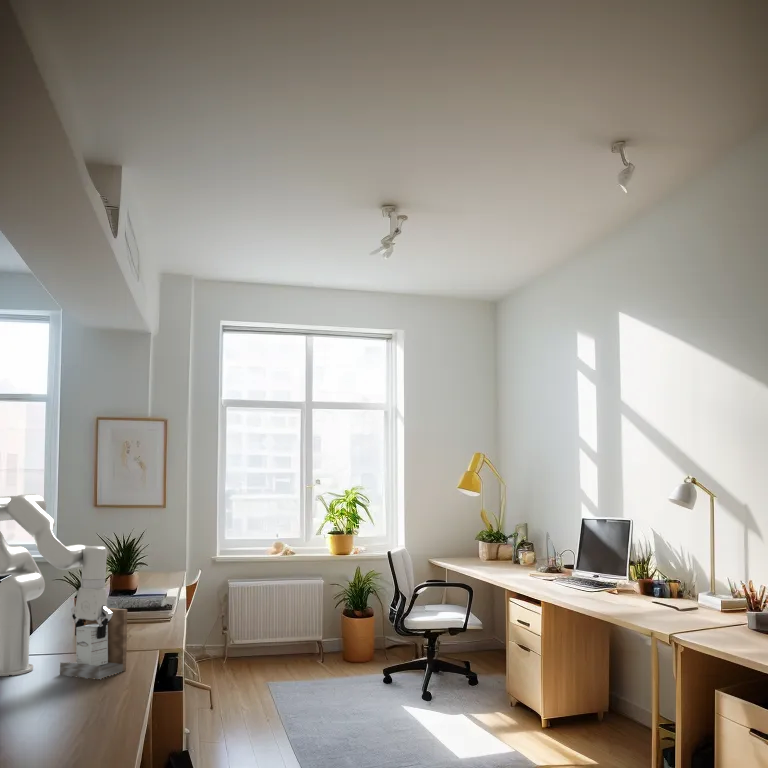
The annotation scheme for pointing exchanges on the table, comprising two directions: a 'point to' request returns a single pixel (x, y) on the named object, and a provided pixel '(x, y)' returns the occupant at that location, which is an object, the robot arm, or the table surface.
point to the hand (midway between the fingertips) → (90, 636)
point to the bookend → (115, 650)
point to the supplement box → (91, 646)
